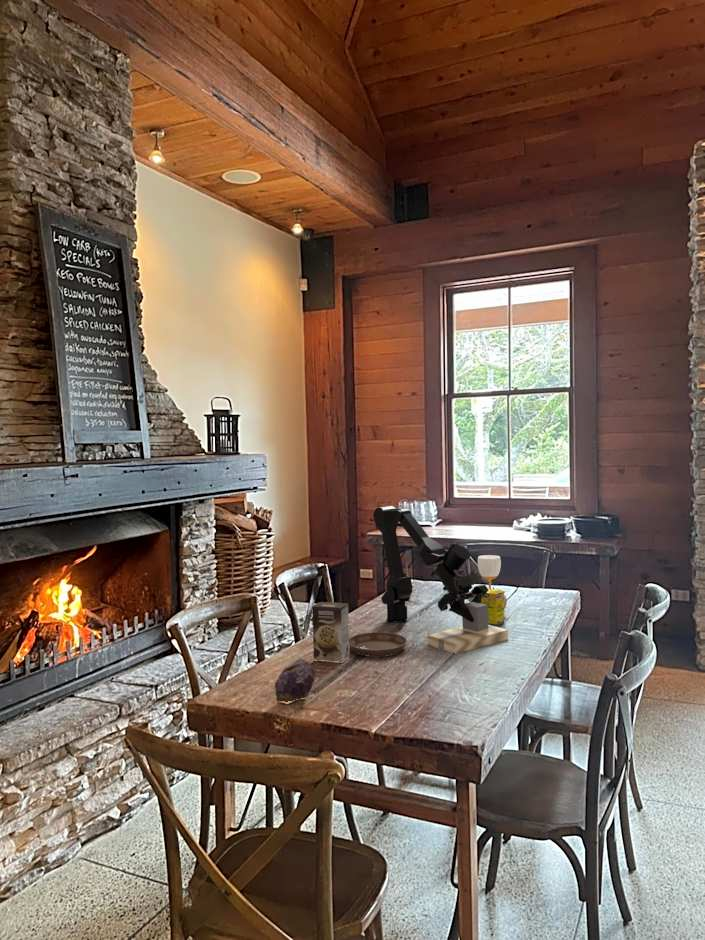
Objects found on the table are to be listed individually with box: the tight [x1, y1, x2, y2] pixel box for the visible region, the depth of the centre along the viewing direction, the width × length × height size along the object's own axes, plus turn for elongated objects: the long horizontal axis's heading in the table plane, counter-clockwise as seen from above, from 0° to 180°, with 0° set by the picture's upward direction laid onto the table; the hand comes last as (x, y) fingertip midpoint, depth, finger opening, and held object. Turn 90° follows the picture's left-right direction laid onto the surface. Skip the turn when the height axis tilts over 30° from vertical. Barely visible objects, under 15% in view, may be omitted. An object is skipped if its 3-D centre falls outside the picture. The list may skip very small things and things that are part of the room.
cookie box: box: [311, 601, 350, 662], centre depth 208 cm, size 9×6×16 cm
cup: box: [477, 554, 502, 589], centre depth 276 cm, size 9×9×16 cm
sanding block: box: [461, 602, 488, 634], centre depth 223 cm, size 6×5×8 cm
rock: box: [274, 658, 317, 702], centre depth 179 cm, size 12×9×10 cm
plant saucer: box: [349, 631, 408, 657], centre depth 217 cm, size 18×18×3 cm
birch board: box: [427, 625, 509, 655], centre depth 221 cm, size 22×12×3 cm, turn 125°
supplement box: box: [481, 588, 505, 627], centre depth 241 cm, size 6×6×11 cm
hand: (478, 619), depth 222 cm, fingers closed on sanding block, 5 cm apart
